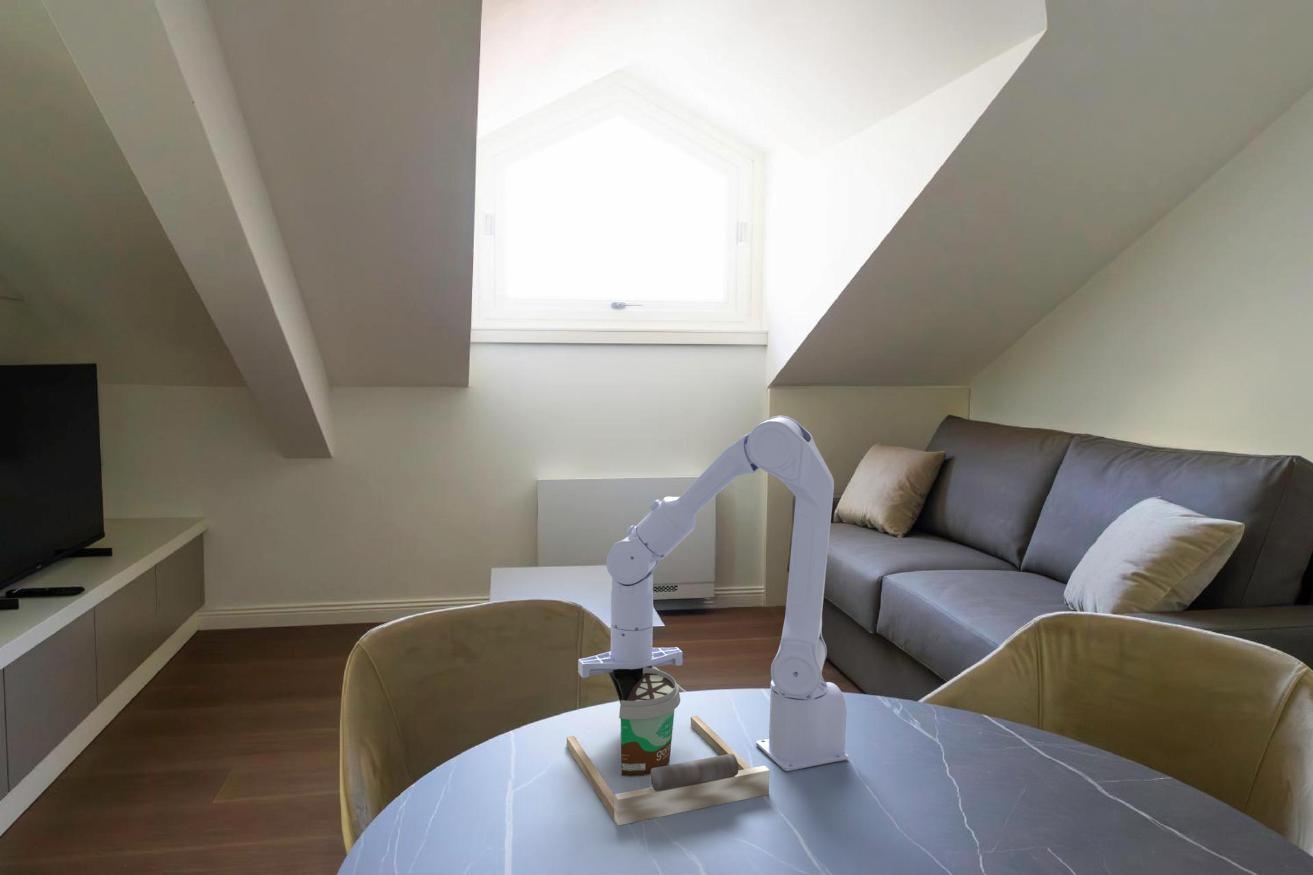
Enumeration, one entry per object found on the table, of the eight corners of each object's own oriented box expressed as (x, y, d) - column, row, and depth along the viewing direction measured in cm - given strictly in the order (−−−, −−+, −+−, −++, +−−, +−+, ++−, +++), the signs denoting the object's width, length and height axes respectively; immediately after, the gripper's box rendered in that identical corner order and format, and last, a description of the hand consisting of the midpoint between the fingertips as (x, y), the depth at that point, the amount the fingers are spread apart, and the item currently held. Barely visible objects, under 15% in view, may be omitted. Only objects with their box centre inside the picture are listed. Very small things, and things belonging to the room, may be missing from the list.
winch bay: (697, 723, 119) (697, 686, 118) (771, 796, 100) (772, 752, 99) (566, 745, 112) (566, 706, 111) (619, 828, 93) (620, 781, 92)
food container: (667, 788, 101) (669, 708, 100) (617, 781, 103) (619, 702, 102) (687, 742, 113) (689, 670, 112) (642, 736, 115) (644, 665, 113)
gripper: (669, 610, 121) (667, 701, 123) (572, 620, 116) (571, 715, 117) (689, 625, 115) (687, 721, 116) (587, 636, 109) (586, 737, 111)
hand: (630, 719), depth 116 cm, fingers closed
